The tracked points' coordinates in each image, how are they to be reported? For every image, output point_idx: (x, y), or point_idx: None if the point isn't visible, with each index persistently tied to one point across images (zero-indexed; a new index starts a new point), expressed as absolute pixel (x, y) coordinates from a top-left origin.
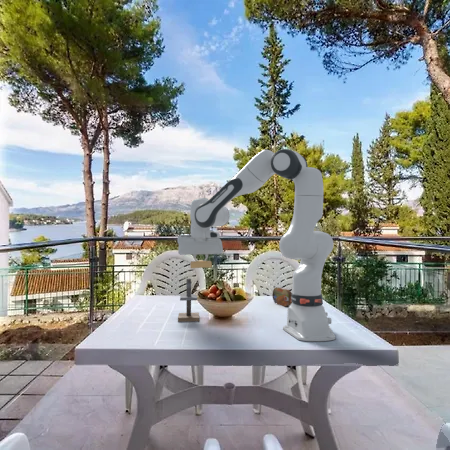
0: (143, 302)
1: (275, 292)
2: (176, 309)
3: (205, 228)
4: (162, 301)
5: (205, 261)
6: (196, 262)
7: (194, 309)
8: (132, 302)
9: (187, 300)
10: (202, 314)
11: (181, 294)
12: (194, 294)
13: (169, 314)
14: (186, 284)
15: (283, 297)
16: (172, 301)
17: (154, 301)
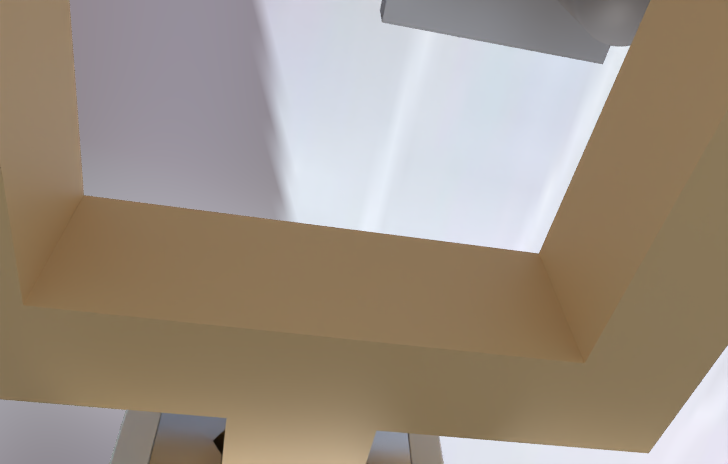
0: (655, 446)
1: None
2: (492, 237)
3: None
4: (524, 448)
5: (120, 309)
6: (487, 327)
7: (343, 206)
8: (721, 457)
9: None
10: (301, 16)
11: (597, 55)
12: (423, 8)
13: (601, 93)
14: None
15: None
16: (457, 438)
17: (576, 456)
